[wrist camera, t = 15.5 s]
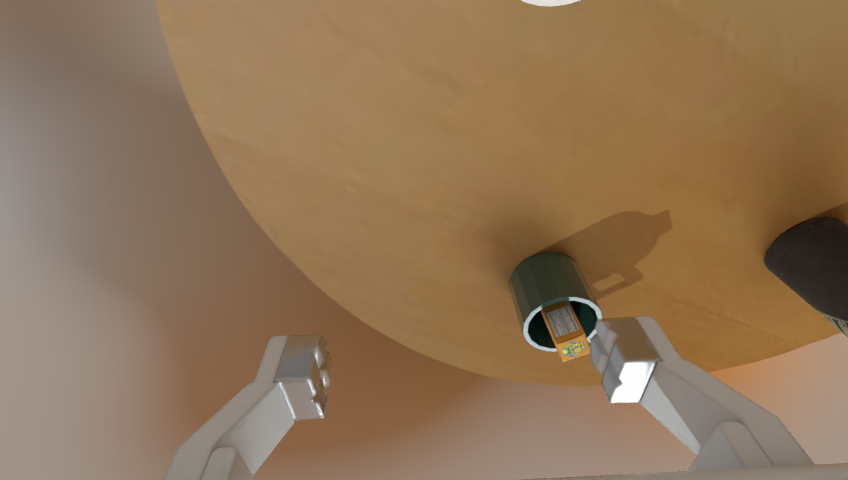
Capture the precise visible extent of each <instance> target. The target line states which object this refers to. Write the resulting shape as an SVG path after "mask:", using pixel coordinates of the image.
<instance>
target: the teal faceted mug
mask: <svg viewBox="0 0 848 480" xmlns="http://www.w3.org/2000/svg"><path fill="white" fill-rule="evenodd" d="M509 286H510V292H511V295H512V299H513V302H514V306H515V309H516V313H517V316H518V320H519V323H520V327H521V330H522V333H523V335H524V337H525V339H526V341H527V343H529V344H530V345H532V346H533V347H535V348H537V349H540V350H544V351H550V352H553V351H557V349H556V347H555V344H554V342H553V340H552V337H551V335H550V332H549V330H548V328H547V326H546V323H545V321H544V318H543V316H542V313H541V311H540V310H542V309H543V308H545V307H546V306H549V305H552V304H555V303H558V302H562V301H569V303H570V305H571V307H572V308H573V310H574V312H575V315H576V316H577V318H578V320H579V322H580V324H581V326H582V328H583V330H584V332H585V335H586V338H587V341H588V344H589V346H590V344H591V340H592V338H593V337H594V336H595V335H596V333H597V332H596V330H595V325H596V322H597V321H598V320H599V319H603V316H602V313H601V310H600V307H599V305H598V303H597V301H596V299H595V298H594V296H593V294H592V292H591V290H590V288H589V286H588V284H587V282H586V280H585V278H584V277H583V275H582V273H581V271H580V269H579V267H578V266H577V264H576V263H575V262H574V261H573V260H572V259H571V258H570V257H568V256H566V255H563V254H560V253H553V252H548V253H541V254H537V255H534V256H532V257H529V258H527V259H526V260H524V261H523V262H521V263H520V264H519V265H518V266H517V267H516V268H515V270H514V271H513V273H512V275H511V277H510V282H509Z"/></svg>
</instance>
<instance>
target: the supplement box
mask: <svg viewBox="0 0 848 480" xmlns="http://www.w3.org/2000/svg"><path fill="white" fill-rule="evenodd" d="M540 311H541V313H542V316H543V318H544V321H545V323H546V326H547V328H548V330H549V332H550V335H551V337H552V340H553V342H554V344H555V347H556V349H557V351H558V354H559V356H560V358H561V360H562V362H565V361H568V360H571V359H574V358H577V357H580V356H582V355H585V354H588V353H590V347H589V344H588V341H587V338H586V335H585V332H584V330H583V328H582V326H581V324H580V322H579V320H578V318H577V316H576V315H575V312H574V310H573V308H572V307H571V305H570V303H569V301H562V302H558V303H555V304H552V305H549V306H546V307H545V308H543V309H542V310H540Z"/></svg>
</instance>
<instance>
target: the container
mask: <svg viewBox="0 0 848 480" xmlns="http://www.w3.org/2000/svg"><path fill="white" fill-rule="evenodd" d="M765 264H766V266H767V268H768V269H769V270H770V271H771V272H772V273H774V274H775V275H776V276H777V277H778V278H779V279H780V280H782V281H783V282H784V283H785V284H786V285H788V286H789V287H790V288H791V289H792V290H793V291H795V292H796V293H797V294H798V295H799V296H800V297H802V298H803V299H804V300H805V301H806V302H808V303H809V304H810V305H811V306H812V307H813V308H815V309H816V310H817V311H818V312H819V313H820V314H822V315H823V316H824V317H825V318H826V319H828V320H829V321H830V322H831V323H832V324H833V325H834V326H836V327H837V328H838V329H839V330H840V331H841V332H843V333H844V334H845V335H846V336H847V337H848V225H847V224H845V223H843V222H842V221H840V220H837V219H833V218H820V219H814V220H811V221H808V222H805V223H802V224H800V225H798V226H796V227H794V228H792V229H791V230H789V231H787V232H786V233H784V234H783V235H782V236H781V237H779V238H778V239H777V240H776V241H775V242H774V243H773V244H772V246H771V247H770V249H769V250H768V252H767V255H766V258H765Z"/></svg>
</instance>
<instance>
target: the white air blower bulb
mask: <svg viewBox="0 0 848 480" xmlns="http://www.w3.org/2000/svg"><path fill="white" fill-rule="evenodd" d="M521 1H523V2H526V3H530V4H534V5H538V6H559V5H566V4H571V3H574V2H577V1H580V0H521Z"/></svg>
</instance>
